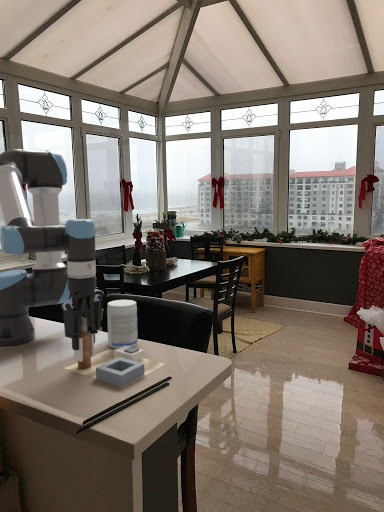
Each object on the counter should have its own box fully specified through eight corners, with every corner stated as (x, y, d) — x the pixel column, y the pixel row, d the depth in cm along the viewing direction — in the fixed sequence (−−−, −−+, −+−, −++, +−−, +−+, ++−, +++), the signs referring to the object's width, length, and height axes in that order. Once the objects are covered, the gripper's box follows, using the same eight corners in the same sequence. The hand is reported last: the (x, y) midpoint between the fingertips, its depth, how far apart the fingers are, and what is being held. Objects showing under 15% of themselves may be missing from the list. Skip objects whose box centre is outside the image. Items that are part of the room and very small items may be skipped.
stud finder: (114, 360, 121) (113, 348, 120) (125, 354, 125) (125, 343, 124) (132, 365, 117) (132, 353, 116) (143, 359, 121) (143, 348, 121)
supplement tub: (143, 346, 135) (143, 302, 133) (119, 353, 128) (118, 307, 127) (126, 339, 142) (125, 297, 140) (102, 345, 135) (101, 302, 134)
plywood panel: (63, 371, 115) (63, 368, 114) (109, 352, 130) (108, 349, 130) (123, 391, 103) (123, 387, 103) (165, 367, 118) (165, 363, 118)
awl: (75, 367, 115) (73, 318, 113) (84, 363, 118) (83, 315, 116) (84, 370, 113) (82, 320, 112) (93, 365, 116) (92, 317, 115)
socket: (96, 378, 108) (95, 367, 108) (119, 367, 115) (119, 356, 115) (121, 386, 103) (121, 375, 103) (144, 374, 111) (144, 363, 110)
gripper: (67, 282, 103) (70, 370, 106) (113, 272, 117) (114, 351, 120) (47, 279, 107) (51, 364, 110) (94, 270, 121) (96, 346, 124)
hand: (84, 357), depth 115 cm, fingers closed on awl, 3 cm apart
